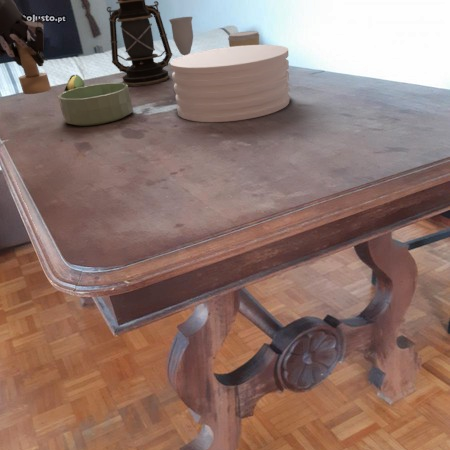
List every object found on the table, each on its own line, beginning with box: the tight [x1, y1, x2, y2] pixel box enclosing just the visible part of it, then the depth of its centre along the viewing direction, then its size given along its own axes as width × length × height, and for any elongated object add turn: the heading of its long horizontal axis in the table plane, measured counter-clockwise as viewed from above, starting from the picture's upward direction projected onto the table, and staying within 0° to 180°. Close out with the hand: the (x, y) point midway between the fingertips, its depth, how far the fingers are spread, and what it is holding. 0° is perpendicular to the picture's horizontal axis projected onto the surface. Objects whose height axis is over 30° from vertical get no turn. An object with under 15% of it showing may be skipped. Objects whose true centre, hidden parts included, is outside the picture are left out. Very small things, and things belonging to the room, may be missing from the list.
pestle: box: [15, 43, 52, 95], centre depth 95 cm, size 6×6×11 cm
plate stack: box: [169, 44, 290, 123], centre depth 115 cm, size 28×28×12 cm
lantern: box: [106, 0, 174, 87], centre depth 151 cm, size 20×16×30 cm
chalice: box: [168, 16, 194, 56], centre depth 139 cm, size 7×7×18 cm
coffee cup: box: [227, 30, 260, 47], centre depth 143 cm, size 9×9×12 cm
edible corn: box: [63, 74, 86, 92], centre depth 152 cm, size 5×20×5 cm, turn 9°
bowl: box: [57, 82, 134, 127], centre depth 122 cm, size 18×18×6 cm
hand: (32, 63), depth 97 cm, fingers closed on pestle, 3 cm apart
